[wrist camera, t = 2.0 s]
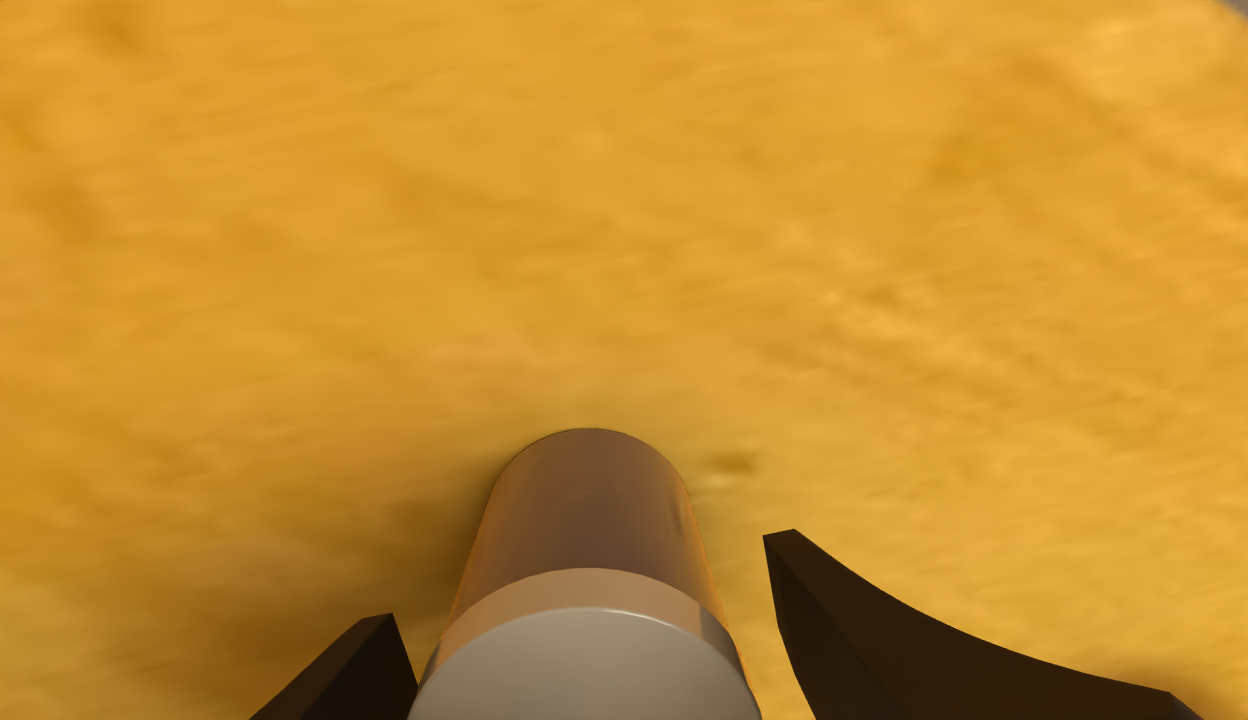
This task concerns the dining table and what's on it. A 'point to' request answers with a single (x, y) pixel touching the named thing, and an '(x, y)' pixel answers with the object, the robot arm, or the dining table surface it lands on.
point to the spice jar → (587, 598)
